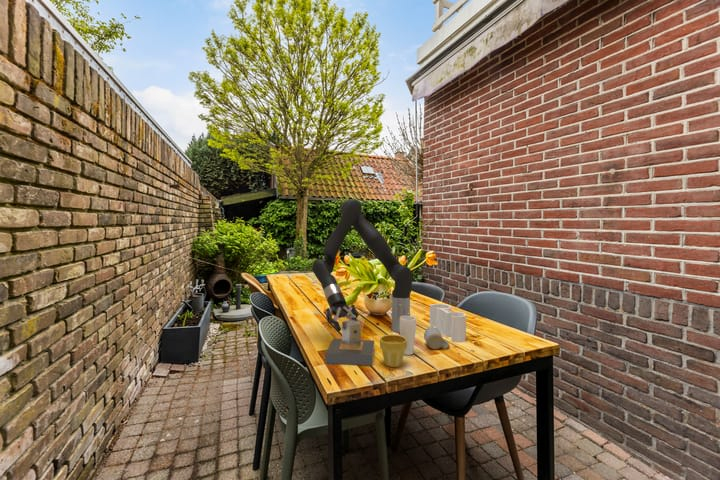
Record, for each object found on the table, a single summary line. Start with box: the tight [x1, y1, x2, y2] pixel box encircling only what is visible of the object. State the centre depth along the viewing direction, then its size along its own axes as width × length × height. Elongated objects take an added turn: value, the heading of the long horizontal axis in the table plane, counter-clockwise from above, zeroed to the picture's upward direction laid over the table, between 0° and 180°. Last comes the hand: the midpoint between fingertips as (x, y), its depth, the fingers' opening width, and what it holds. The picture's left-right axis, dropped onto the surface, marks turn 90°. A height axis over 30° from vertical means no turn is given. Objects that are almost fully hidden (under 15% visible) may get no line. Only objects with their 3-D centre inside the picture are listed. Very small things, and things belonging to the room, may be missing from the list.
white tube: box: [399, 315, 417, 356], centre depth 133 cm, size 7×7×15 cm
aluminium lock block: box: [341, 319, 362, 349], centre depth 131 cm, size 6×6×10 cm
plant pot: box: [379, 334, 407, 368], centre depth 123 cm, size 10×10×10 cm
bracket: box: [429, 303, 467, 343], centre depth 159 cm, size 25×10×12 cm, turn 13°
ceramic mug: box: [423, 326, 450, 350], centre depth 141 cm, size 11×8×8 cm
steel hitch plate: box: [324, 338, 375, 367], centre depth 130 cm, size 18×16×4 cm
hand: (348, 328), depth 133 cm, fingers open, 8 cm apart
